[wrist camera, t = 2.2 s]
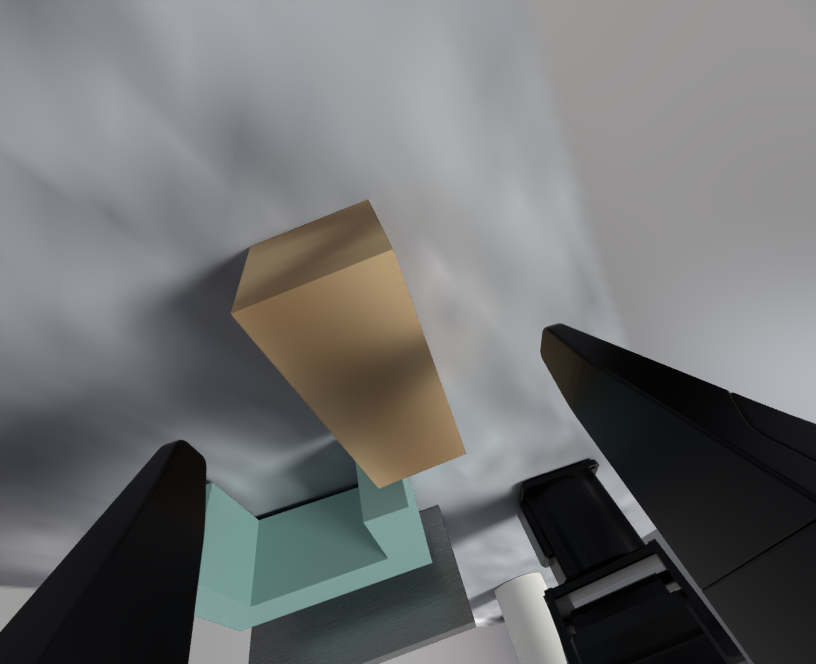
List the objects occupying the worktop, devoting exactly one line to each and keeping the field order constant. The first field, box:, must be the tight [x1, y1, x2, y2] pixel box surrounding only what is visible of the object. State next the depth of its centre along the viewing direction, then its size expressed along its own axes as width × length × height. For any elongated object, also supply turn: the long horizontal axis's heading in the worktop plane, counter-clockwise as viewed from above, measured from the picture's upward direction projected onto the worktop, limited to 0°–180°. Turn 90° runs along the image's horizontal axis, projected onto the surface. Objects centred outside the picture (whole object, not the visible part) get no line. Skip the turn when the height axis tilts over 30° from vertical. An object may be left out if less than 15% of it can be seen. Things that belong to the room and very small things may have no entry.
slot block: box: [194, 461, 432, 631], centre depth 18 cm, size 11×8×4 cm
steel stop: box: [249, 505, 476, 664], centre depth 23 cm, size 14×4×7 cm, turn 99°
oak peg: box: [231, 200, 466, 488], centre depth 12 cm, size 4×10×4 cm, turn 16°
